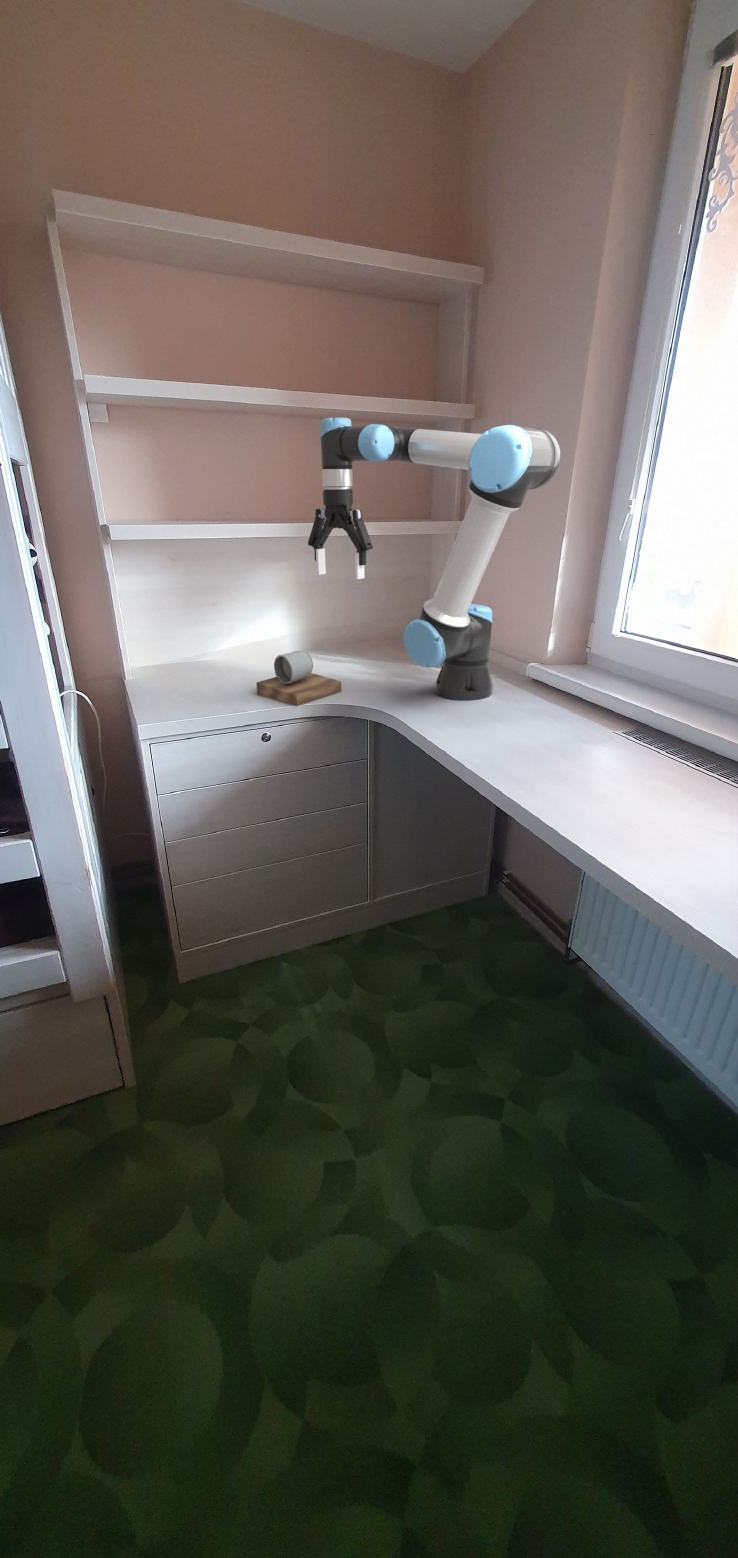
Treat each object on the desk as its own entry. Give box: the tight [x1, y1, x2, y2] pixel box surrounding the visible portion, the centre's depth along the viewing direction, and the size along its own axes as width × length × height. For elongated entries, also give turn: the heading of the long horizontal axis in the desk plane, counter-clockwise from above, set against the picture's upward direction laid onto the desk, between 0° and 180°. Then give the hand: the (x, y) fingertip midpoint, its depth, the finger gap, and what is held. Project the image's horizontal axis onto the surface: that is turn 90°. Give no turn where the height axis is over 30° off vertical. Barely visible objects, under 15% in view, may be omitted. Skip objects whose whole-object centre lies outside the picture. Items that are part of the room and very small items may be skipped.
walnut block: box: [255, 672, 342, 707], centre depth 175 cm, size 16×16×4 cm
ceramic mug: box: [273, 650, 314, 684], centre depth 173 cm, size 11×8×8 cm
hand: (340, 576), depth 172 cm, fingers open, 13 cm apart
